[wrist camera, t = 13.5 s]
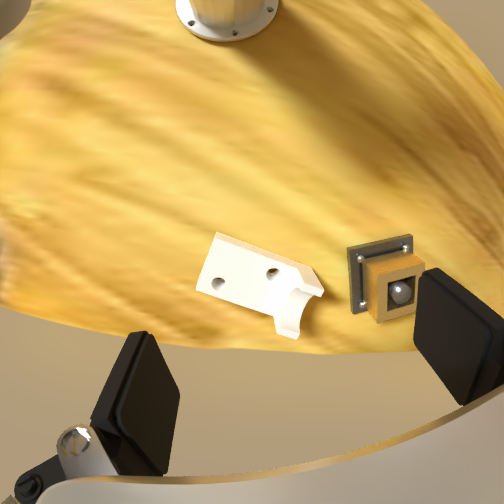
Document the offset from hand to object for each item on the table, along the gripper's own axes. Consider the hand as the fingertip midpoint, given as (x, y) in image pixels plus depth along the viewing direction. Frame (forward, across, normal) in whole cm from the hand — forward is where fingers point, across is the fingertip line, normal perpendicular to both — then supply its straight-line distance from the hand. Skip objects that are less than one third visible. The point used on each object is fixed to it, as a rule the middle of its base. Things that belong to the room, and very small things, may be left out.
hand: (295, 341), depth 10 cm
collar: (+27, -16, +14) cm, 34 cm away
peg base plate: (+28, -16, +14) cm, 35 cm away
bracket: (+29, +2, +10) cm, 30 cm away
